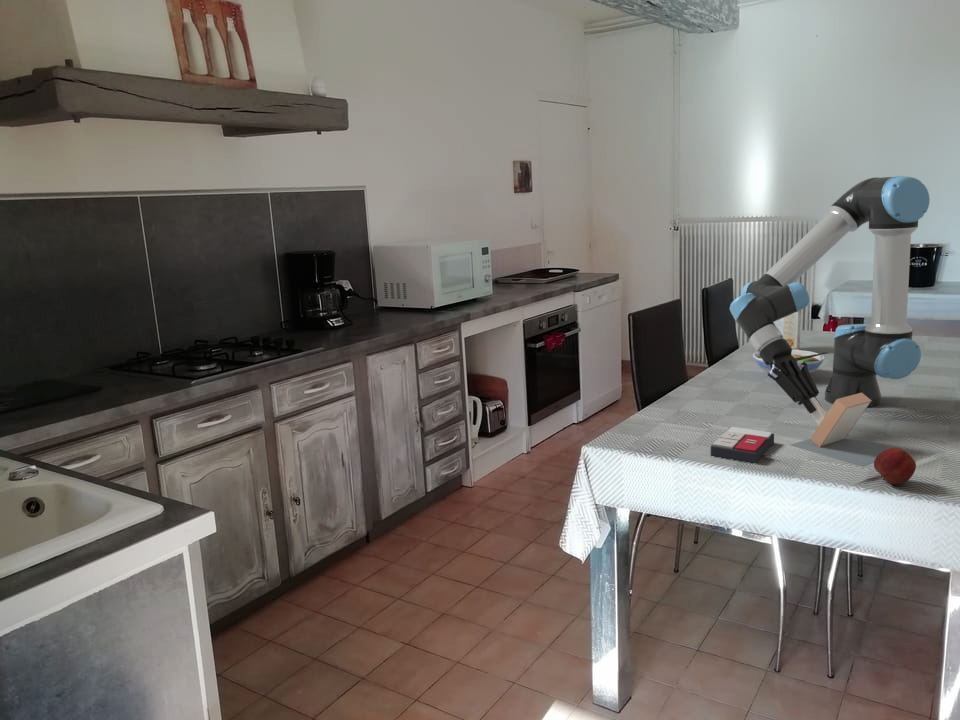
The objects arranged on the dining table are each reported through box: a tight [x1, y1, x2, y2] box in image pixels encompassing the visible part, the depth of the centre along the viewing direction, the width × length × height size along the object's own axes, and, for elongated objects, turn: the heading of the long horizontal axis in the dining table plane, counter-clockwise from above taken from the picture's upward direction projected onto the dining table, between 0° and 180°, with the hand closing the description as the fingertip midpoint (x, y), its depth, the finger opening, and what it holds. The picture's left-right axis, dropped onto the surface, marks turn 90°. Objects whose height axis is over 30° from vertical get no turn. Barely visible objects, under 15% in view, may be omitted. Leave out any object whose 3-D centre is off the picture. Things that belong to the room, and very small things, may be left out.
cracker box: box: [773, 309, 802, 350], centre depth 294 cm, size 14×6×21 cm, turn 58°
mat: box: [790, 434, 908, 467], centre depth 183 cm, size 18×19×1 cm
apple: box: [873, 447, 917, 486], centre depth 162 cm, size 7×8×8 cm
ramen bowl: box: [752, 349, 828, 374], centre depth 257 cm, size 25×23×8 cm
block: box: [810, 393, 872, 447], centre depth 184 cm, size 10×3×13 cm, turn 121°
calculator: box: [710, 426, 775, 464], centre depth 185 cm, size 11×4×15 cm
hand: (824, 422), depth 187 cm, fingers closed
